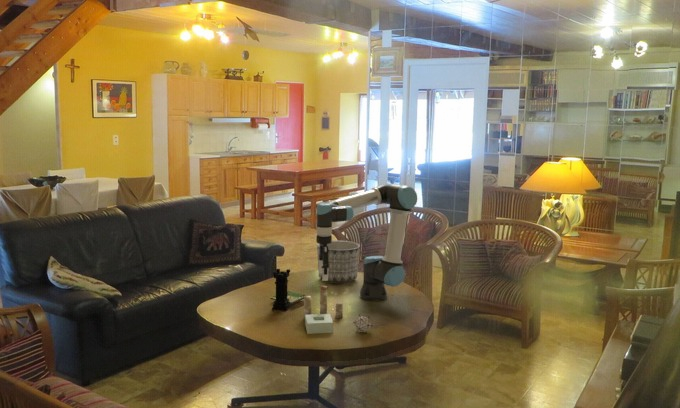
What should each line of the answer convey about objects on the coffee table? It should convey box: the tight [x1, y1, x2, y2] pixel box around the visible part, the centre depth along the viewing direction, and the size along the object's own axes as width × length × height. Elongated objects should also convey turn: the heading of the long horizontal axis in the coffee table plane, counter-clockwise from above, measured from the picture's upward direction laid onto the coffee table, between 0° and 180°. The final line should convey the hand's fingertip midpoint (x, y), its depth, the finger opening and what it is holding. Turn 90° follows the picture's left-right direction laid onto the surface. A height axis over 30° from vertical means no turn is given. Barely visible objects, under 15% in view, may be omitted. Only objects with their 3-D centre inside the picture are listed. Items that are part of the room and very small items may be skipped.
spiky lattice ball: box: [352, 313, 374, 335], centre depth 277 cm, size 9×8×10 cm
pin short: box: [335, 301, 344, 319], centre depth 297 cm, size 4×4×7 cm
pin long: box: [319, 285, 328, 314], centre depth 295 cm, size 4×4×16 cm
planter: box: [316, 240, 361, 284], centre depth 361 cm, size 26×26×22 cm
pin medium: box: [303, 295, 312, 320], centre depth 295 cm, size 4×4×11 cm
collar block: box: [304, 313, 334, 335], centre depth 281 cm, size 12×12×5 cm
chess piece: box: [271, 268, 292, 312], centre depth 309 cm, size 8×8×20 cm
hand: (323, 276), depth 293 cm, fingers open, 13 cm apart
